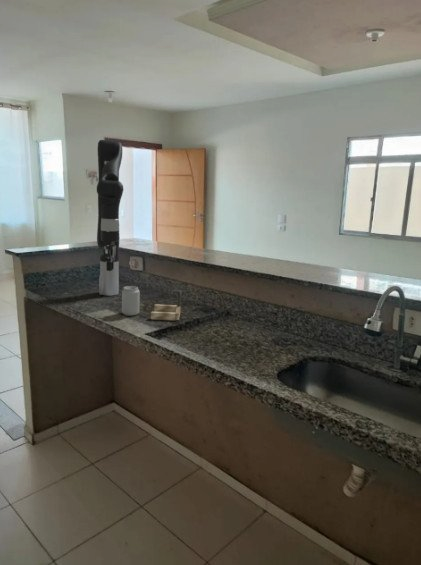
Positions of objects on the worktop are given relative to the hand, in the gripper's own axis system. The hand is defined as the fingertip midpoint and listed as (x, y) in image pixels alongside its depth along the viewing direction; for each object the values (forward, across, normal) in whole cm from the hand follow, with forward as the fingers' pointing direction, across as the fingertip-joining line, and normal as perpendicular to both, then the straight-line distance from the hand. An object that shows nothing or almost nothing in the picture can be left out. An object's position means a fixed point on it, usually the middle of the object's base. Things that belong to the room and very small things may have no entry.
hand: (110, 269), depth 172 cm
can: (+19, 0, +9) cm, 21 cm away
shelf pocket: (+19, 0, +25) cm, 31 cm away
